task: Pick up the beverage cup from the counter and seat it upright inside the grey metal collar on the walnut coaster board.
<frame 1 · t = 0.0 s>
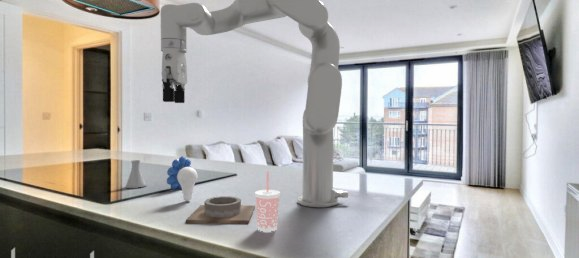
hand: (174, 102, 106), 31 cm above the counter, tool pointing down, fingers open, 9 cm apart
coaster board: (222, 215, 93), on the counter
lightbulb: (187, 202, 107), on the counter
beverage cup: (267, 229, 82), on the counter
grapes: (178, 189, 125), on the counter
flask: (136, 187, 128), on the counter
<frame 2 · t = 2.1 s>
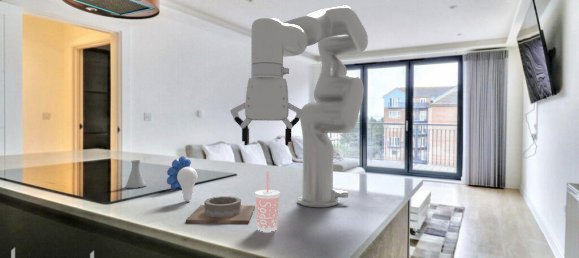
hand: (266, 144, 81), 20 cm above the counter, tool pointing down, fingers open, 9 cm apart
nothing on the counter moved.
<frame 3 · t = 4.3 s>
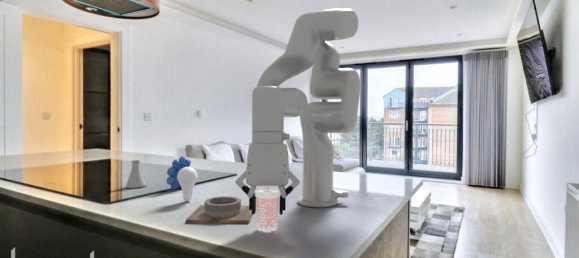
hand: (267, 212, 82), 4 cm above the counter, tool pointing down, fingers closed on beverage cup, 6 cm apart
beverage cup: (267, 229, 82), on the counter, touching gripper
everything else where it was.
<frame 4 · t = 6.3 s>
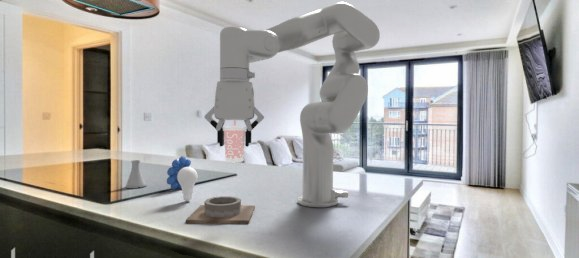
hand: (234, 145, 89), 20 cm above the counter, tool pointing down, fingers closed on beverage cup, 6 cm apart
beverage cup: (234, 161, 89), point 15 cm above the counter, touching gripper
everything else where it was.
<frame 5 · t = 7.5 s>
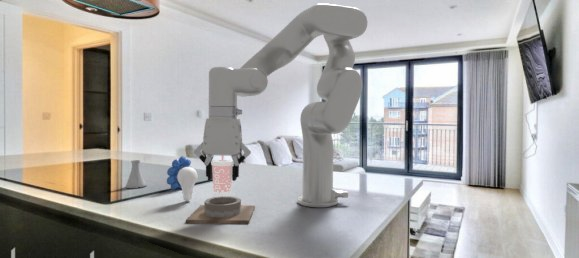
hand: (222, 179, 92), 10 cm above the counter, tool pointing down, fingers closed on beverage cup, 6 cm apart
beverage cup: (222, 194, 93), point 6 cm above the counter, touching gripper
everything else where it was.
when the fingers open (6 cm above the counter, at t = 8.6 s): beverage cup drops 1 cm, resting on coaster board.
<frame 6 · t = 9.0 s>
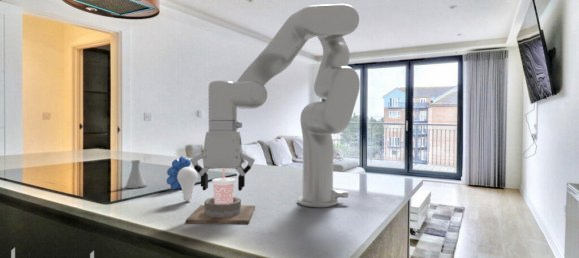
hand: (222, 189, 93), 7 cm above the counter, tool pointing down, fingers open, 9 cm apart
beverage cup: (223, 212, 93), point 1 cm above the counter, touching coaster board
everything else where it was.
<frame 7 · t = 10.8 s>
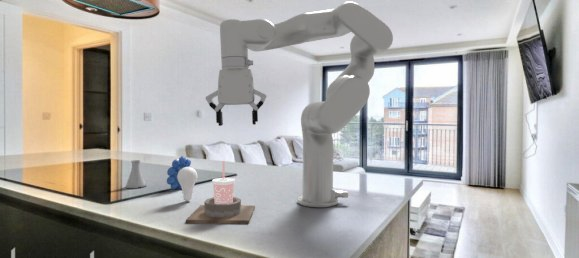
hand: (237, 124, 98), 25 cm above the counter, tool pointing down, fingers open, 9 cm apart
nothing on the counter moved.
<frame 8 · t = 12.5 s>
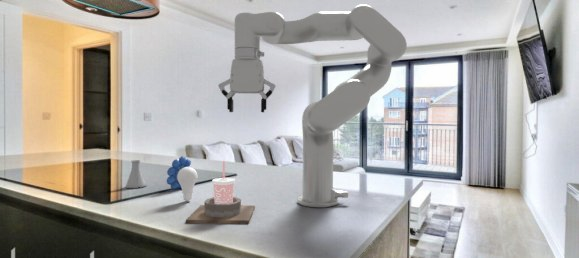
hand: (247, 112, 104), 28 cm above the counter, tool pointing down, fingers open, 9 cm apart
nothing on the counter moved.
at the end: beverage cup 0.2 cm off-centre on the coaster board, point 0.6 cm above the coaster board's base; beverage cup tilted 0°; the gripper is holding nothing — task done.
